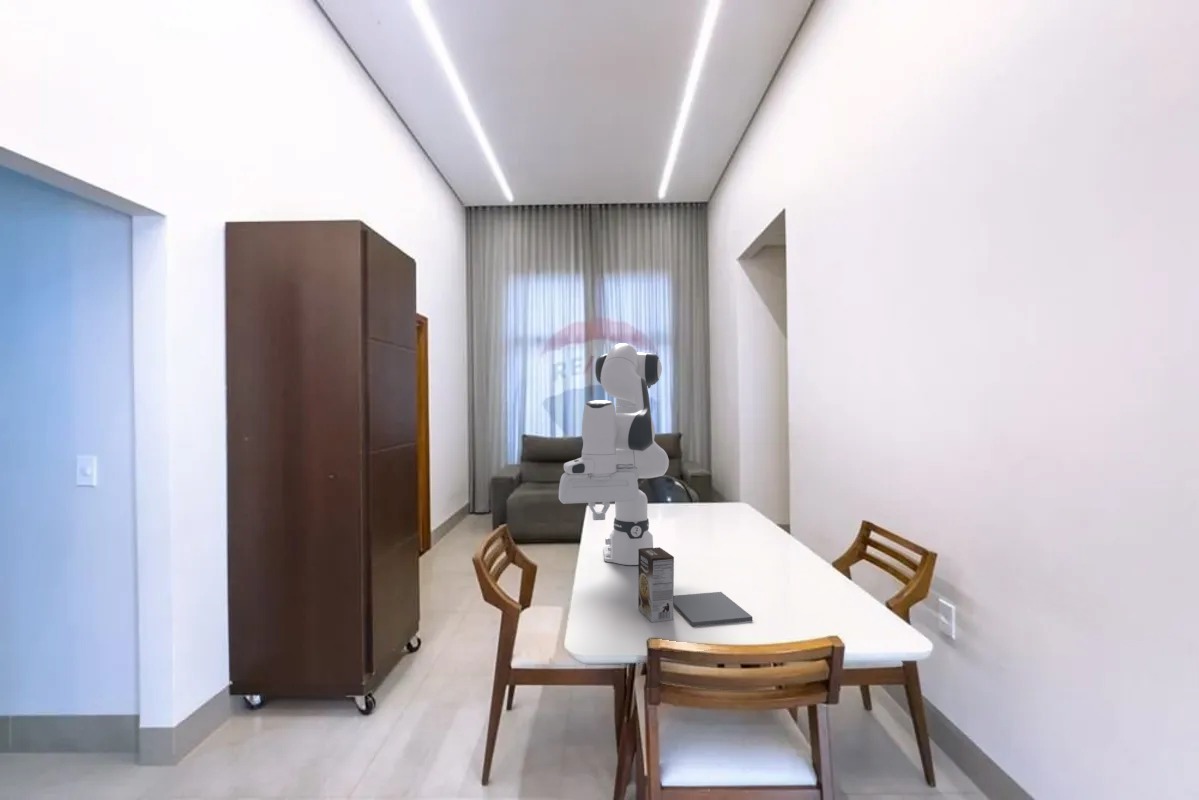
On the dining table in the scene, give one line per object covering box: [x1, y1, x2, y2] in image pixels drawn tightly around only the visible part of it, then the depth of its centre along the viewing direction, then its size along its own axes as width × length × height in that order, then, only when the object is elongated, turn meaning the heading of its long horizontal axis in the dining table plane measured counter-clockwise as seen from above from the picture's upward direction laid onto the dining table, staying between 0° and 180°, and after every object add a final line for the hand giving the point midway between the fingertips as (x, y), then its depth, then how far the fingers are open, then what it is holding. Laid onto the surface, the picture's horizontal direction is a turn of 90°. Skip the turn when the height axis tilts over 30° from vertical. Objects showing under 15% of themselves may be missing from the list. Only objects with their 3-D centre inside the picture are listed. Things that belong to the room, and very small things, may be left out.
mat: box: [673, 591, 753, 627], centre depth 143 cm, size 18×16×1 cm
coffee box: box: [637, 547, 675, 623], centre depth 140 cm, size 9×6×16 cm
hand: (598, 519), depth 137 cm, fingers closed
